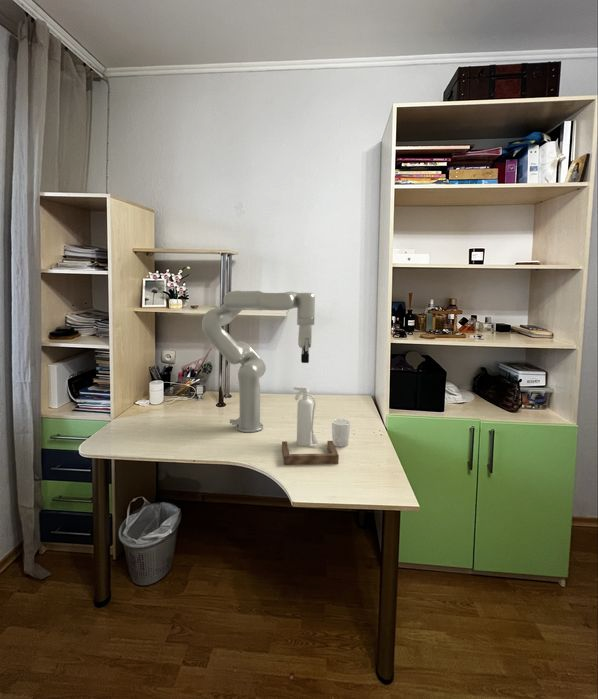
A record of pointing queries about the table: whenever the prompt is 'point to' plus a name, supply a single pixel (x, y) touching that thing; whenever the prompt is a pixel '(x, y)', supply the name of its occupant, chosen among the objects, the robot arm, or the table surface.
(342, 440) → the white cup
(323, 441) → the table surface
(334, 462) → the u rest
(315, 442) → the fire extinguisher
